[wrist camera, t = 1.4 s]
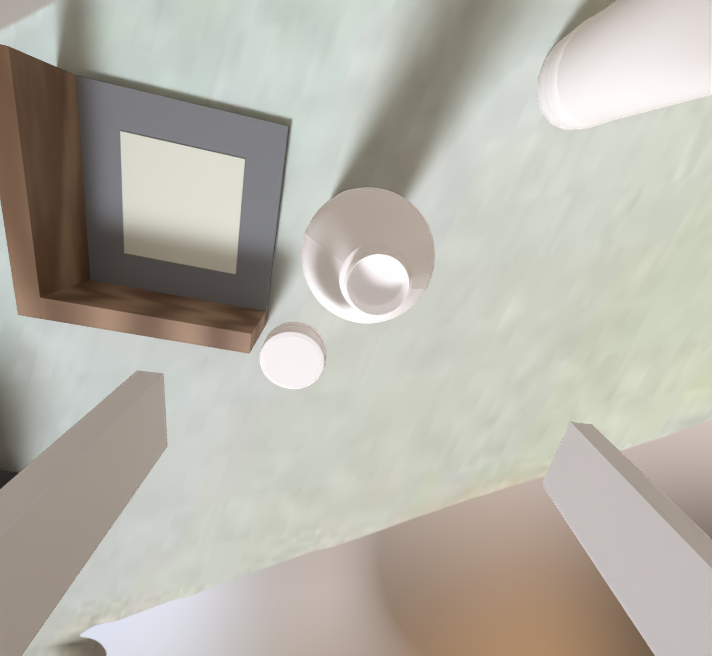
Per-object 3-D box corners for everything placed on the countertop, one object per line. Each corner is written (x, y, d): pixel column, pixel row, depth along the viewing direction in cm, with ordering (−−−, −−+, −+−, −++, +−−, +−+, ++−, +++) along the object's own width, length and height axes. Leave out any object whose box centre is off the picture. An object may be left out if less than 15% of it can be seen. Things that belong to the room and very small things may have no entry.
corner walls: (75, 292, 37) (17, 314, 30) (56, 71, 30) (-25, 38, 23) (265, 326, 39) (249, 353, 32) (289, 127, 32) (275, 111, 25)
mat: (94, 278, 36) (89, 279, 36) (80, 77, 30) (75, 75, 29) (267, 309, 38) (265, 311, 38) (289, 127, 32) (287, 125, 31)
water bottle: (357, 173, 34) (389, 136, 10) (399, 225, 36) (507, 292, 12) (293, 236, 36) (201, 322, 12) (337, 282, 37) (328, 431, 14)
